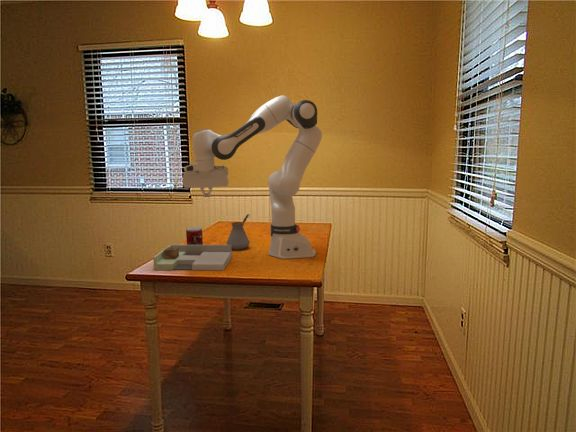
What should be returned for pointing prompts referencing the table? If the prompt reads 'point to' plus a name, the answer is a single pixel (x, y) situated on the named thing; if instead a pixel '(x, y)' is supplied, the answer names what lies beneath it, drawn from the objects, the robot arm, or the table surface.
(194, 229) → the canned food
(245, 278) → the table surface
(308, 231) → the table surface
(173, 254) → the walnut block
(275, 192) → the robot arm
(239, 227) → the coffee pot
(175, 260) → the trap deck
